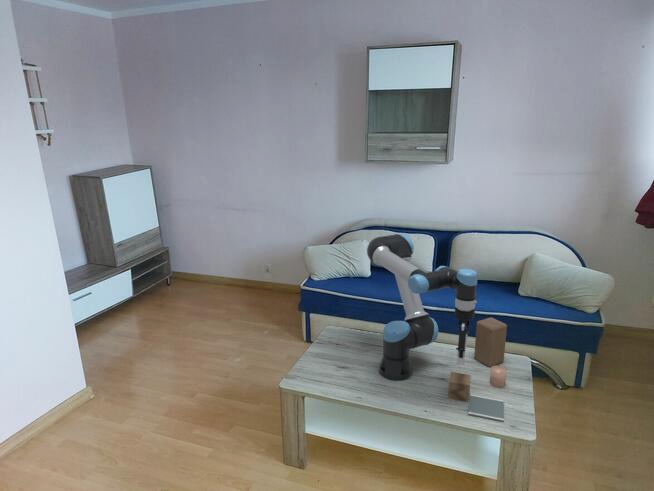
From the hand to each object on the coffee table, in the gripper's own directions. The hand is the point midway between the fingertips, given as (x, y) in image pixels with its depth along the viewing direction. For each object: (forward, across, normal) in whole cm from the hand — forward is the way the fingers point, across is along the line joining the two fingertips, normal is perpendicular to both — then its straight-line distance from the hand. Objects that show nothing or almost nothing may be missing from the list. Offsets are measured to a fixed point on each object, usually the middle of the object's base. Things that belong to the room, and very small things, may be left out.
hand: (461, 355), depth 178 cm
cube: (+18, 0, 0) cm, 18 cm away
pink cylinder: (+18, +14, -15) cm, 27 cm away
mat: (+18, -6, -11) cm, 22 cm away
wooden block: (+18, +33, -11) cm, 39 cm away
